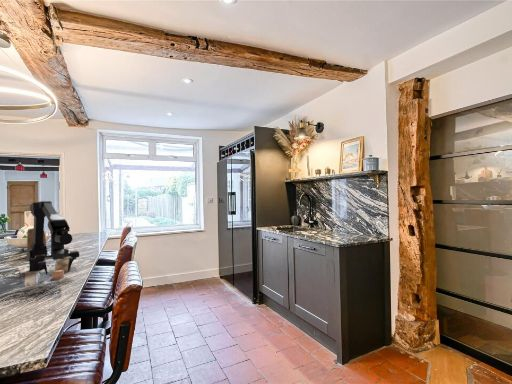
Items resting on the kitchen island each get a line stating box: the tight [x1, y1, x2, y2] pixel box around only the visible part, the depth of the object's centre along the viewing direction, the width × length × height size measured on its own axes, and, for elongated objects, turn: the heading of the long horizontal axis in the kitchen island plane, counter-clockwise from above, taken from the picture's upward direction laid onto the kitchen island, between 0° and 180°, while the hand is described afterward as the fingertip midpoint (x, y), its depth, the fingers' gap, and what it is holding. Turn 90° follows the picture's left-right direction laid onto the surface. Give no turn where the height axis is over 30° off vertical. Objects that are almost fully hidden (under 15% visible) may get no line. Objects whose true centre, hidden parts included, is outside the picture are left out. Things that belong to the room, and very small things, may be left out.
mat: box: [48, 266, 78, 276], centre depth 161 cm, size 13×13×1 cm
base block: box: [54, 262, 72, 272], centre depth 161 cm, size 7×7×4 cm
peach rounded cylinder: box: [51, 270, 65, 280], centre depth 147 cm, size 5×5×4 cm
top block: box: [55, 257, 69, 265], centre depth 161 cm, size 6×6×4 cm
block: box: [26, 227, 47, 253], centre depth 203 cm, size 11×8×20 cm
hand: (57, 272), depth 147 cm, fingers open, 9 cm apart
